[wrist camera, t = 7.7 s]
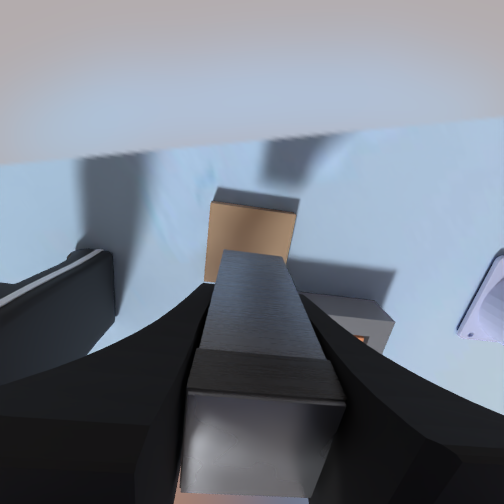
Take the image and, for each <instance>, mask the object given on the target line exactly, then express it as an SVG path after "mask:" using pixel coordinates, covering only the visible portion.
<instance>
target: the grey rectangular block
mask: <svg viewBox="0 0 504 504" xmlns="http://www.w3.org/2000/svg"><path fill="white" fill-rule="evenodd" d="M346 402H347V398H346V395H345V393H344V391H343V389H342V386H341V384H340V382H339V380H338V377H337V375H336V373H335V371H334V368H333V366H332V364H331V362H330V360H326V358H325V355H324V353H323V351H322V348H321V346H320V344H319V341H318V339H317V337H316V334H315V332H314V330H313V327H312V325H311V323H310V320H309V318H308V316H307V313H306V311H305V309H304V306H303V304H302V302H301V299H300V297H299V295H298V292H297V290H296V288H295V285H294V283H293V281H292V278H291V276H290V274H289V271H288V269H287V267H286V264H285V262H284V260H283V257H282V256H274V255H266V254H258V253H250V252H242V251H234V250H226V249H224V250H223V254H222V258H221V262H220V266H219V270H218V274H217V279H216V283H215V287H214V291H213V295H212V299H211V303H210V307H209V311H208V315H207V319H206V323H205V327H204V331H203V335H202V339H201V343H200V347H199V348H197V349H196V352H195V356H194V360H193V364H192V368H191V372H190V375H189V379H188V383H187V387H186V400H185V415H184V430H183V445H182V459H181V474H180V488H181V492H184V493H206V494H230V495H255V496H278V497H301V498H311V496H312V494H313V491H314V489H315V486H316V483H317V481H318V478H319V476H320V473H321V471H322V468H323V465H324V463H325V460H326V458H327V455H328V453H329V450H330V447H331V445H332V442H333V440H334V437H335V435H336V432H337V429H338V427H339V424H340V422H341V419H342V417H343V414H344V411H345V409H346Z"/></svg>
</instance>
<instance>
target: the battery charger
mask: <svg viewBox="0 0 504 504" xmlns="http://www.w3.org/2000/svg"><path fill="white" fill-rule="evenodd" d="M114 322H115V301H114V275H113V258H112V254H111V253H110V252H108V251H104V250H103V249H96V250H94V249H80V250H76V251H73V252H71V253H70V254H69V255H68V257H67V260H66V261H64V262H62V263H61V264H59V265H57V266H54V267H52V268H50V269H48V270H45V271H43V272H41V273H39V274H36V275H34V276H32V277H30V278H28V279H26V280H23V281H21V282H19V283H16V284H8V283H0V386H1V385H4V384H7V383H10V382H13V381H16V380H19V379H22V378H25V377H28V376H31V375H34V374H37V373H40V372H43V371H47V370H50V369H53V368H55V367H58V366H61V365H64V364H66V363H69V362H71V361H74V360H77V359H79V358H82V357H84V356H86V355H87V354H88V353H89V351H90V350H91V349H92V348H93V347H94V345H95V344H96V343H97V342H98V341H99V339H100V338H101V337H102V336H103V335H104V333H105V332H106V331H107V330H108V329H109V328H110V327H111V325H112V324H113V323H114Z"/></svg>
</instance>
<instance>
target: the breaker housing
mask: <svg viewBox="0 0 504 504" xmlns="http://www.w3.org/2000/svg"><path fill="white" fill-rule="evenodd" d="M298 294H303V295H304V296H306V297H307V298H308V299H310V300H311V301H312V302H313V303H314V304H316V305H317V306H318V307H319V308H320V309H321V310H323V311H324V312H325V313H326V314H327V315H328V316H330V317H331V318H332V319H333V320H335V321H336V322H337V323H338V324H339V325H341V326H342V327H343V328H345V329H346V330H347V331H349V332H350V333H351V334H353V335H360V336H363V337H364V341H363V342H364V343H365V344H366V345H368V346H370V347H371V348H373V349H374V350H376V351H377V352H379V353H380V354H382V353H383V350H384V348H385V346H386V343H387V341H388V338H389V336H390V334H391V331H392V329H393V327H394V324H395V321H394V320H393V319H392V318H391V317H390V316H389V315H388V314H387V313H386V312H385V311H384V310H383V309H382V308H381V307H380V306H379V305H378V304H377V303H376V302H375V301H374V300H365V299H357V298H348V297H339V296H331V295H322V294H313V293H305V292H298Z"/></svg>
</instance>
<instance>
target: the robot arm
mask: <svg viewBox="0 0 504 504" xmlns="http://www.w3.org/2000/svg"><path fill="white" fill-rule="evenodd" d="M214 287H215V284H208V283H202V284H201V285H200V286H199V287H198V288H197V289H195V290H194V291H193V292H192V293H191V294H190V295H189V296H188V297H187V298H185V299H184V300H183V301H182V302H181V303H179V304H178V305H177V306H176V307H174V308H173V309H172V310H170V311H169V312H168V313H166V314H165V315H164V316H162V317H161V318H159V319H158V320H156V321H155V322H153V323H152V324H150V325H148V326H147V327H145V328H143V329H141V330H140V331H138V332H136V333H134V334H132V335H130V336H128V337H126V338H124V339H122V340H120V341H118V342H116V343H114V344H112V345H110V346H108V347H105V348H103V349H101V350H99V351H96V352H94V353H91V354H89V355H87V356H84V357H82V358H79V359H77V360H74V361H71V362H69V363H66V364H64V365H61V366H58V367H55V368H53V369H50V370H47V371H43V372H40V373H37V374H34V375H31V376H28V377H25V378H22V379H19V380H16V381H13V382H10V383H7V384H4V385H1V386H0V504H173V503H174V498H175V493H176V488H177V482H178V476H179V472H180V467H181V459H182V445H183V430H184V415H185V400H186V387H187V383H188V379H189V375H190V372H191V368H192V364H193V360H194V356H195V352H196V349H197V348H199V347H200V343H201V339H202V335H203V331H204V327H205V323H206V319H207V315H208V311H209V307H210V303H211V299H212V295H213V291H214ZM298 295H299V297H300V299H301V302H302V304H303V306H304V309H305V311H306V313H307V316H308V318H309V320H310V323H311V325H312V327H313V330H314V332H315V334H316V337H317V339H318V341H319V344H320V346H321V348H322V351H323V353H324V355H325V358H326V360H330V362H331V364H332V366H333V368H334V371H335V373H336V375H337V377H338V380H339V382H340V384H341V386H342V389H343V391H344V393H345V395H346V398H347V402H346V409H345V411H344V414H343V417H342V419H341V422H340V424H339V427H338V429H337V432H336V435H335V437H334V440H333V442H332V445H331V447H330V450H329V453H328V455H327V458H326V460H325V463H324V465H323V468H322V471H321V473H320V476H319V478H318V481H317V483H316V486H315V489H314V491H313V494H312V496H311V498H308V499H309V504H504V415H502V414H499V413H497V412H494V411H492V410H490V409H487V408H485V407H483V406H480V405H478V404H476V403H473V402H471V401H469V400H467V399H465V398H463V397H460V396H458V395H456V394H454V393H452V392H450V391H448V390H446V389H444V388H442V387H440V386H438V385H436V384H434V383H432V382H430V381H428V380H426V379H424V378H422V377H420V376H418V375H416V374H415V373H413V372H411V371H409V370H407V369H406V368H404V367H402V366H400V365H398V364H397V363H395V362H393V361H392V360H390V359H388V358H387V357H385V356H383V355H382V354H380V353H379V352H377V351H376V350H374V349H373V348H371V347H370V346H368V345H366V344H365V343H364V342H362V341H361V340H359V339H358V338H357V337H355V336H354V335H353V334H351V333H350V332H349V331H347V330H346V329H345V328H343V327H342V326H341V325H339V324H338V323H337V322H336V321H335V320H333V319H332V318H331V317H330V316H328V315H327V314H326V313H325V312H324V311H323V310H321V309H320V308H319V307H318V306H317V305H316V304H314V303H313V302H312V301H311V300H310V299H308V298H307V297H306V296H304V295H303V294H298ZM457 335H458V336H459V337H460V338H463V339H473V340H482V341H492V342H499V343H500V344H502V345H503V346H504V255H503V256H499V257H497V258H496V259H495V261H494V263H493V265H492V267H491V268H490V270H489V272H488V274H487V276H486V278H485V280H484V282H483V284H482V285H481V287H480V289H479V291H478V293H477V295H476V297H475V299H474V300H473V302H472V304H471V306H470V308H469V310H468V312H467V314H466V315H465V317H464V319H463V321H462V323H461V325H460V327H459V329H458V331H457Z"/></svg>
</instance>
